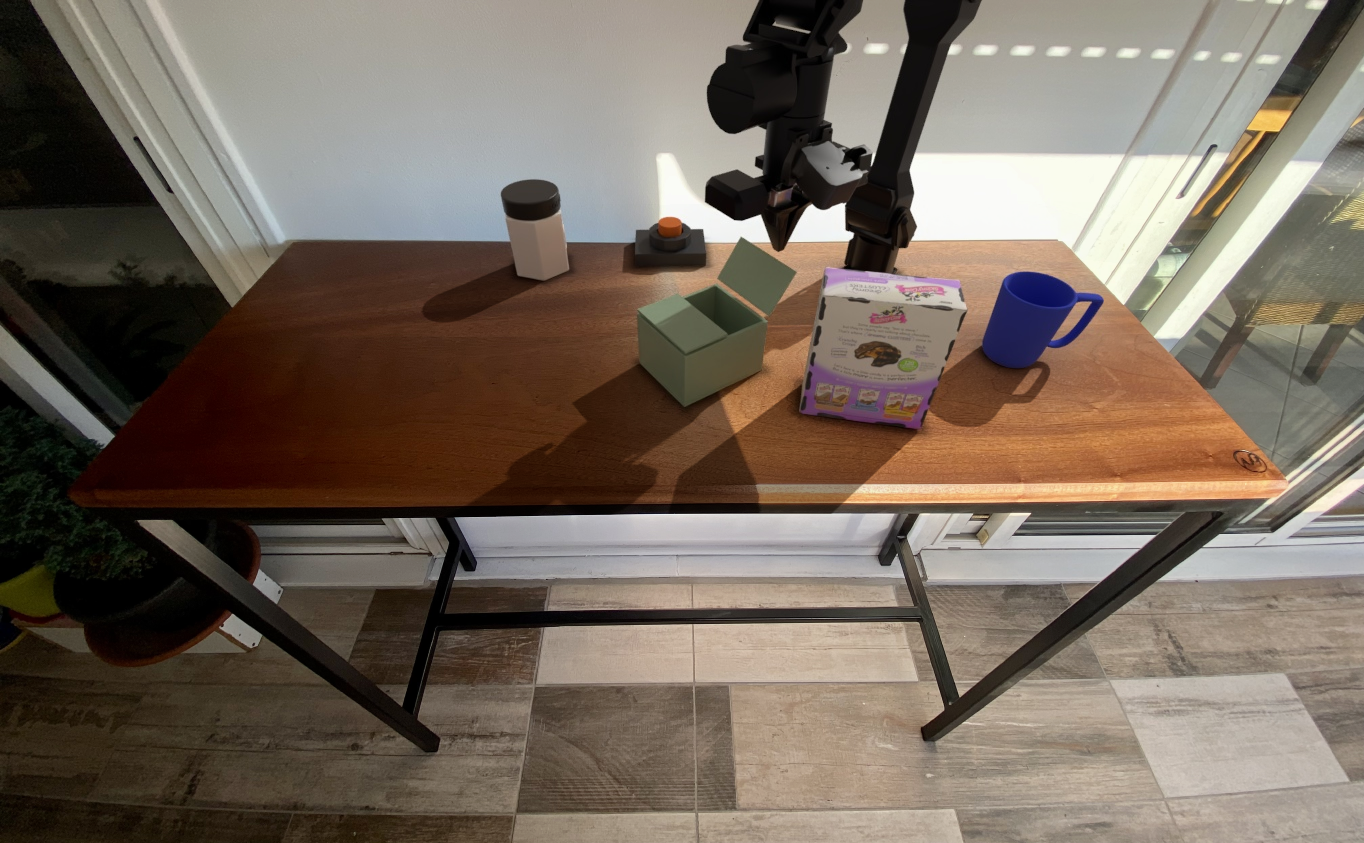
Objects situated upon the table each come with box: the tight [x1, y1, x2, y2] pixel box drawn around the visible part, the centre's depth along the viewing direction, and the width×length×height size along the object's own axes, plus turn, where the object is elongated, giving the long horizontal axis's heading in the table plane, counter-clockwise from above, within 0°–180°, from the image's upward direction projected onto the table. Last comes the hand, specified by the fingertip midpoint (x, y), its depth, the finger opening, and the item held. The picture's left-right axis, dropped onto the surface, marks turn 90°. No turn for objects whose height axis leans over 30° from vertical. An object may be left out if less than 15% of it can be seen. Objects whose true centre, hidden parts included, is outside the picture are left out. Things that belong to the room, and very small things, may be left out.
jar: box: [500, 178, 570, 282], centre depth 88 cm, size 9×8×12 cm
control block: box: [634, 222, 707, 267], centre depth 94 cm, size 11×8×4 cm
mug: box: [981, 270, 1105, 369], centre depth 74 cm, size 8×12×10 cm
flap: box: [717, 236, 798, 317], centre depth 71 cm, size 6×10×1 cm
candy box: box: [799, 266, 968, 430], centre depth 65 cm, size 14×6×16 cm, turn 78°
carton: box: [636, 282, 769, 408], centre depth 73 cm, size 12×10×8 cm
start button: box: [657, 216, 683, 237], centre depth 92 cm, size 4×4×2 cm
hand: (778, 250), depth 71 cm, fingers closed
